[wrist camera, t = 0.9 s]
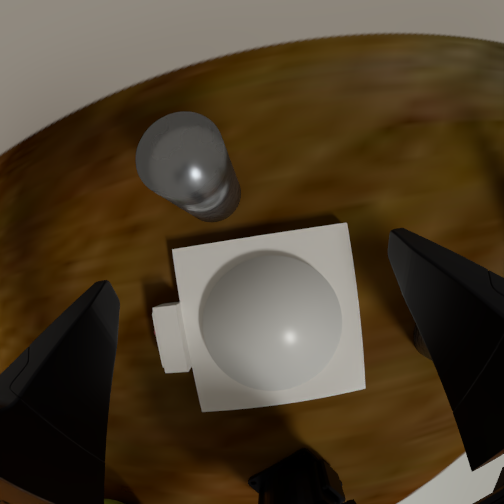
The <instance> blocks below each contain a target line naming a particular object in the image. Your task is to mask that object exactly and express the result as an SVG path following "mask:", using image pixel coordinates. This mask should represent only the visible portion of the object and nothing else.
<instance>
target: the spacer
mask: <svg viewBox="0 0 504 504" xmlns="http://www.w3.org/2000/svg"><path fill="white" fill-rule="evenodd" d="M136 168H137V171H138V174H139V176H140V178H141V180H142V181H143V183H144V184H145V185H146V186H147V187H148V188H149V189H151V190H152V191H154V192H155V193H157V194H159V195H160V196H162V197H163V198H165V199H167V200H168V201H170V202H172V203H173V204H175V205H177V206H178V207H180V208H181V209H183V210H185V211H186V212H188V213H190V214H191V215H193V216H195V217H196V218H198V219H200V220H202V221H205V222H218V221H221V220H224V219H226V218H227V217H229V216H230V215H231V214H232V213H233V212H234V211H235V210H236V208H237V207H238V204H239V202H240V198H241V189H240V185H239V182H238V180H237V177H236V174H235V172H234V169H233V166H232V164H231V161H230V158H229V155H228V153H227V150H226V147H225V145H224V142H223V139H222V137H221V134H220V132H219V130H218V128H217V127H216V126H215V124H214V123H213V122H212V121H211V120H209V119H208V118H207V117H205V116H203V115H201V114H198V113H194V112H176V113H172V114H169V115H166V116H164V117H162V118H160V119H159V120H157V121H156V122H155V123H153V124H152V125H151V126H150V127H149V128H148V129H147V130H146V132H145V133H144V135H143V136H142V138H141V140H140V142H139V144H138V147H137V151H136Z"/></svg>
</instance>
